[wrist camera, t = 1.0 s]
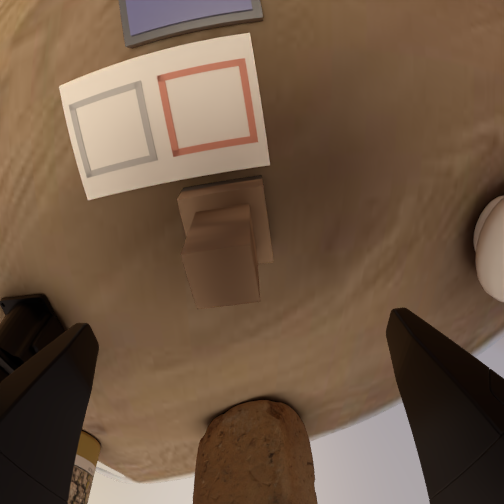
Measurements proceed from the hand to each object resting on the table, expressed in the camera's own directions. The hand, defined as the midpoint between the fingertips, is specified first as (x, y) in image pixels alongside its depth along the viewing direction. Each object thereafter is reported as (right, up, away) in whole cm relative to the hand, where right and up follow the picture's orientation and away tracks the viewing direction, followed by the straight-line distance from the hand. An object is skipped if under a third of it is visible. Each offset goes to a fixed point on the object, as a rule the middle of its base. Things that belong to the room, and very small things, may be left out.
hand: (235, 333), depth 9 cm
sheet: (-5, +10, +8) cm, 14 cm away
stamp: (-1, +4, +12) cm, 12 cm away
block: (0, -16, +23) cm, 28 cm away
